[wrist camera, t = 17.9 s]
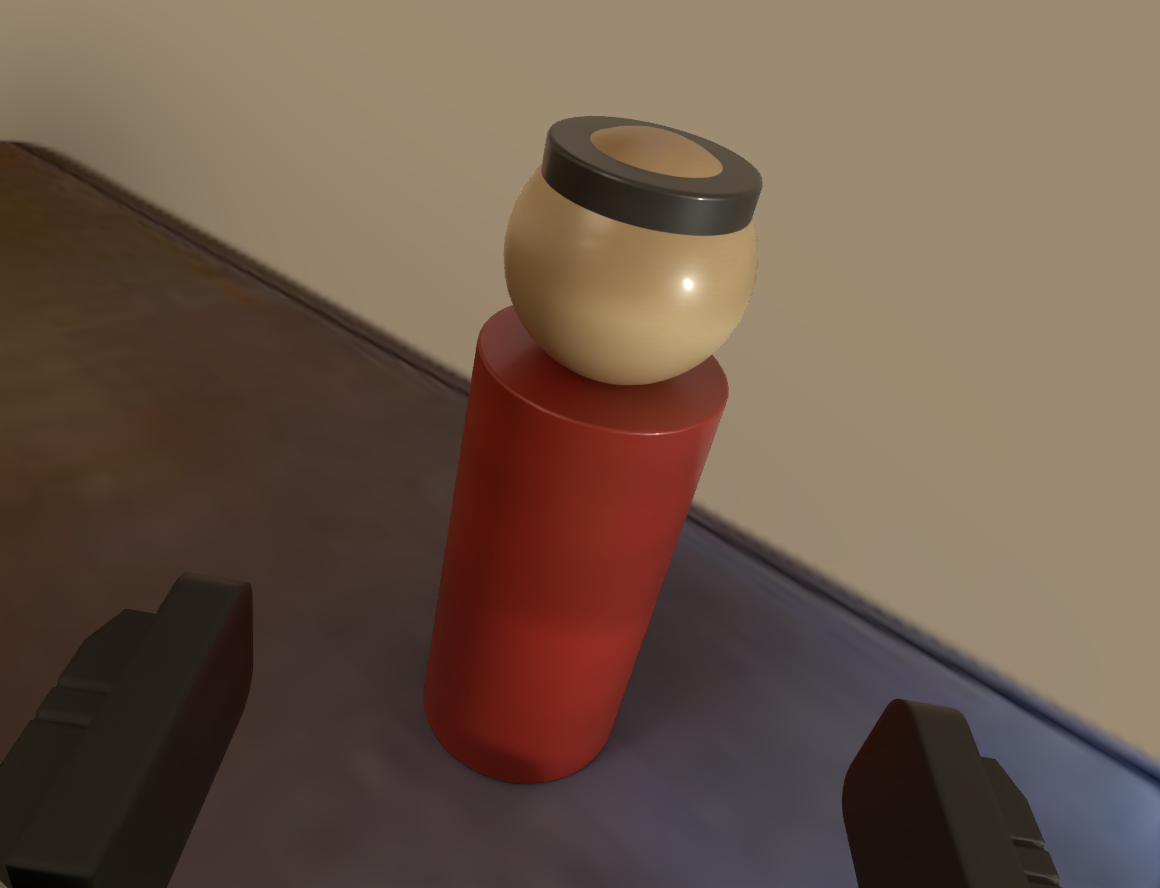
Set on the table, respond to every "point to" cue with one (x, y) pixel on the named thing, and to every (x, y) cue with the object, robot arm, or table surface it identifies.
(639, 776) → the table surface
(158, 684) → the robot arm
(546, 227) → the doll
